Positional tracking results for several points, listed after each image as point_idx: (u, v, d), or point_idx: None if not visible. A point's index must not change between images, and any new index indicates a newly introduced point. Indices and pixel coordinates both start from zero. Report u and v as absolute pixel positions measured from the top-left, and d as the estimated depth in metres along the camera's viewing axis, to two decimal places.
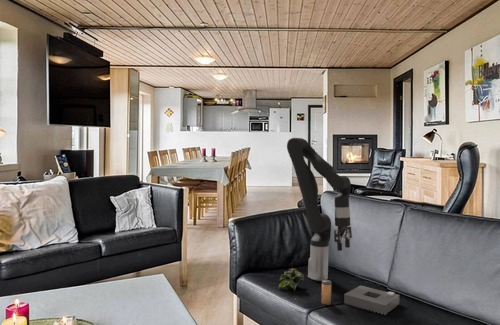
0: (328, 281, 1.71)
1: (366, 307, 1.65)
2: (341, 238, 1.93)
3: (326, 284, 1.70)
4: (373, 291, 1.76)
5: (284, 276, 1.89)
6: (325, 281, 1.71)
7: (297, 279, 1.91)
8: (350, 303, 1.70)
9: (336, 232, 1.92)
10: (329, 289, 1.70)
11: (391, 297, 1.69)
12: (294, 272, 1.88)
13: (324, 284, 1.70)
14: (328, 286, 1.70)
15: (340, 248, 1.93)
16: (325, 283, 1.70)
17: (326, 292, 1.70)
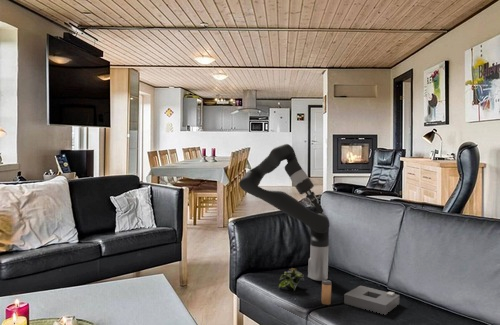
0: (328, 281, 1.71)
1: (366, 307, 1.65)
2: (315, 198, 1.75)
3: (326, 284, 1.70)
4: (373, 291, 1.76)
5: (284, 276, 1.89)
6: (325, 281, 1.71)
7: (297, 279, 1.91)
8: (350, 303, 1.70)
9: (309, 193, 1.74)
10: (329, 289, 1.70)
11: (391, 297, 1.69)
12: (294, 272, 1.88)
13: (324, 284, 1.70)
14: (328, 286, 1.70)
15: (320, 208, 1.74)
16: (325, 283, 1.70)
17: (326, 292, 1.70)
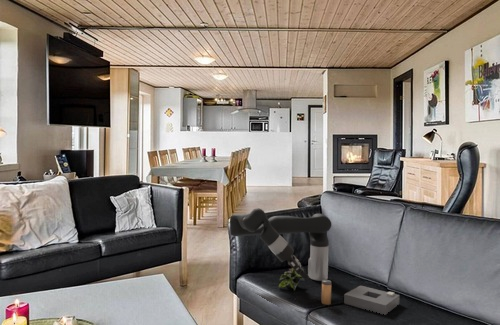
0: (328, 281, 1.71)
1: (366, 307, 1.65)
2: (300, 266, 1.66)
3: (326, 284, 1.70)
4: (373, 291, 1.76)
5: (284, 276, 1.89)
6: (325, 281, 1.71)
7: (297, 279, 1.91)
8: (350, 303, 1.70)
9: (293, 264, 1.64)
10: (329, 289, 1.70)
11: (391, 297, 1.69)
12: (294, 272, 1.88)
13: (324, 284, 1.70)
14: (328, 286, 1.70)
15: (307, 276, 1.66)
16: (325, 283, 1.70)
17: (326, 292, 1.70)
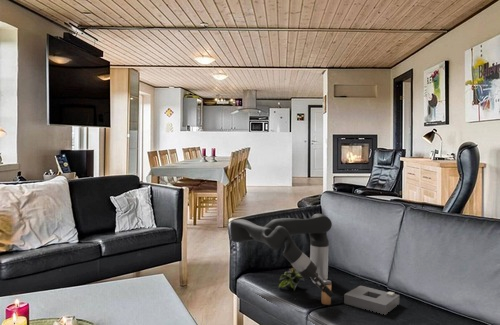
0: (328, 281, 1.71)
1: (366, 307, 1.65)
2: (324, 284, 1.69)
3: (326, 284, 1.70)
4: (373, 291, 1.76)
5: (284, 276, 1.89)
6: (325, 281, 1.71)
7: (297, 279, 1.91)
8: (350, 303, 1.70)
9: (319, 284, 1.65)
10: None
11: (391, 297, 1.69)
12: (294, 272, 1.88)
13: None
14: (328, 286, 1.70)
15: (331, 293, 1.69)
16: (325, 283, 1.70)
17: None
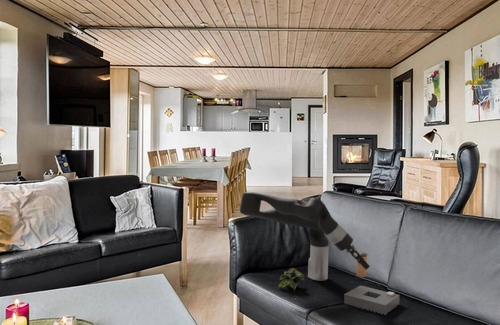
0: (364, 253, 1.70)
1: (366, 307, 1.65)
2: (360, 256, 1.67)
3: (362, 256, 1.68)
4: (373, 291, 1.76)
5: (284, 276, 1.89)
6: (361, 253, 1.70)
7: (297, 279, 1.91)
8: (350, 303, 1.70)
9: (356, 255, 1.64)
10: None
11: (391, 297, 1.69)
12: (294, 272, 1.88)
13: None
14: None
15: (367, 265, 1.67)
16: (361, 255, 1.69)
17: None
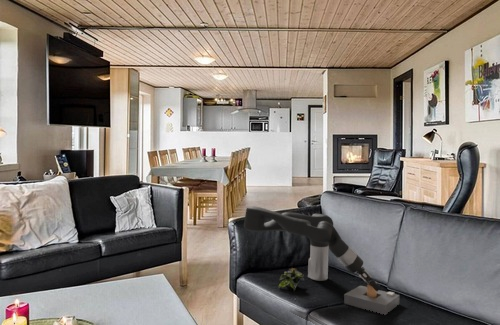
0: None
1: (366, 307, 1.65)
2: None
3: None
4: None
5: (284, 276, 1.89)
6: None
7: (297, 279, 1.91)
8: (350, 303, 1.70)
9: (365, 276, 1.65)
10: (375, 290, 1.70)
11: (391, 297, 1.69)
12: (294, 272, 1.88)
13: None
14: None
15: (378, 287, 1.67)
16: None
17: (372, 292, 1.70)
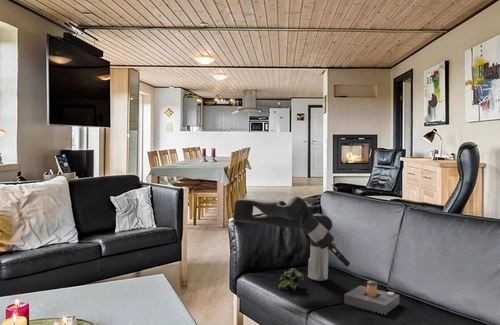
0: (374, 282, 1.72)
1: (366, 307, 1.65)
2: None
3: (372, 285, 1.70)
4: None
5: (284, 276, 1.89)
6: (371, 282, 1.72)
7: (297, 279, 1.91)
8: (350, 303, 1.70)
9: (335, 251, 1.65)
10: (375, 290, 1.70)
11: (391, 297, 1.69)
12: (294, 272, 1.88)
13: (370, 285, 1.71)
14: (374, 287, 1.70)
15: (348, 262, 1.67)
16: (371, 284, 1.70)
17: (372, 292, 1.70)
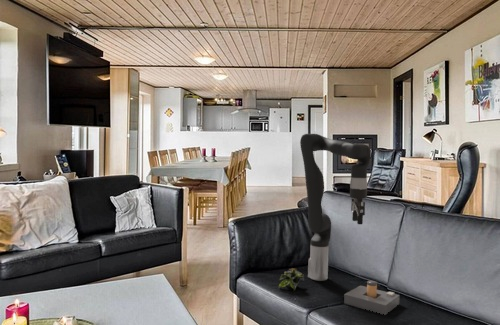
0: (374, 282, 1.72)
1: (366, 307, 1.65)
2: (363, 211, 1.79)
3: (372, 285, 1.70)
4: None
5: (284, 276, 1.89)
6: (371, 282, 1.72)
7: (297, 279, 1.91)
8: (350, 303, 1.70)
9: (362, 204, 1.77)
10: (375, 290, 1.70)
11: (391, 297, 1.69)
12: (294, 272, 1.88)
13: (370, 285, 1.71)
14: (374, 287, 1.70)
15: (362, 221, 1.79)
16: (371, 284, 1.70)
17: (372, 292, 1.70)
